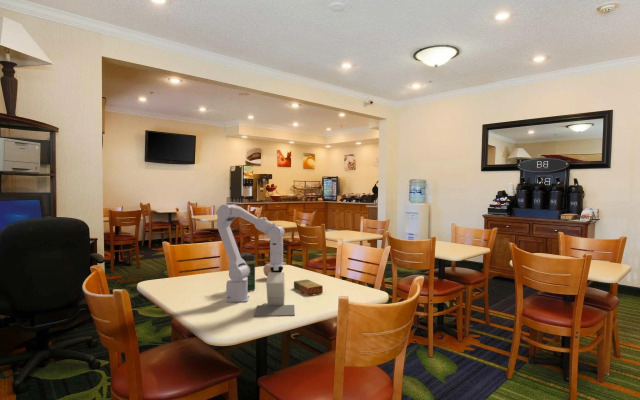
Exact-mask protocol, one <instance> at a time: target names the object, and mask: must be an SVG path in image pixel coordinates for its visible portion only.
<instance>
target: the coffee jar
mask: <svg viewBox="0 0 640 400" xmlns="http://www.w3.org/2000/svg"><path fill="white" fill-rule="evenodd" d="M240 256H241V258H242V259H243V260H245V262H246V264H247V265H248V266H249V268H250V274H249V275H248V292H251V291H255V289H256V255H254V254H252V253H250V252H241V253H240Z"/></svg>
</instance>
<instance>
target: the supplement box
mask: <svg viewBox="0 0 640 400" xmlns="http://www.w3.org/2000/svg"><path fill="white" fill-rule="evenodd" d="M265 284H266V301H267V305H285V295H286V292H285V291H286V288H285V287H286V286H285V284H286V283H285V272H283V271H282V272H268V276H266V283H265Z"/></svg>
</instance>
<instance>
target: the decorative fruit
mask: <svg viewBox="0 0 640 400" xmlns="http://www.w3.org/2000/svg"><path fill="white" fill-rule="evenodd" d="M270 267H273V266H271V265H270V261H269V262H266V263H265V264H264V266H263V273H264V276H266V277H267V276H268V272H271V270H270Z"/></svg>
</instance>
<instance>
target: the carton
mask: <svg viewBox="0 0 640 400" xmlns="http://www.w3.org/2000/svg"><path fill="white" fill-rule="evenodd" d="M294 288H295V290H296V289H297V290H296V291H298V290H299V291H298V292H300V291H301V293H302V292H303V293H302V294H304V293H305V294H304V295H306V294H307V295H306V296H308V295H309V296H314V295H313V294H316V295H320V294H319V293H322V294H323V292H324V290H323V285H322V284H319V283H316V282H314V281H312V280H309V279H301V280H294V281H293V289H294Z"/></svg>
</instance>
